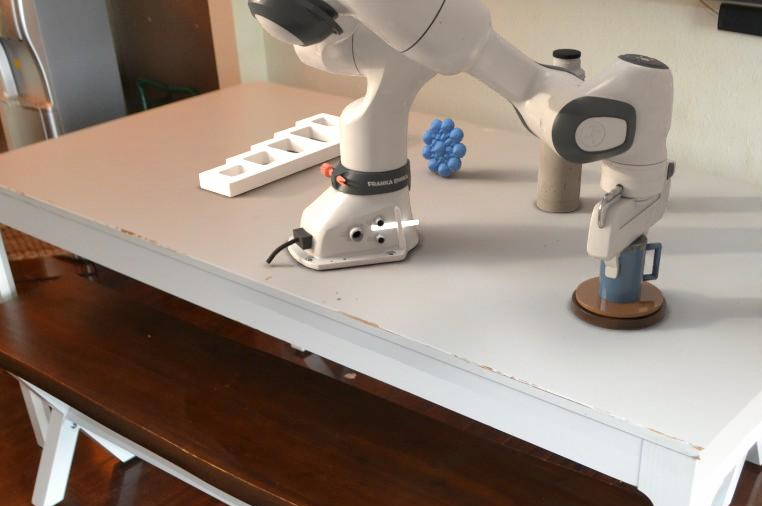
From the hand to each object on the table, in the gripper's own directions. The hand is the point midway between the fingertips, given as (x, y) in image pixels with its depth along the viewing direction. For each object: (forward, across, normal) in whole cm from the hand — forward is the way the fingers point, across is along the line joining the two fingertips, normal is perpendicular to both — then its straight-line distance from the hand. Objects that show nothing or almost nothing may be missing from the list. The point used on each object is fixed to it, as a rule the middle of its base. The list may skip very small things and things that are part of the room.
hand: (623, 266), depth 145 cm
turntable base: (+7, 0, 0) cm, 7 cm away
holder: (+7, +26, +89) cm, 93 cm away
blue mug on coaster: (+5, 0, 0) cm, 5 cm away
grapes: (+7, +35, +54) cm, 65 cm away
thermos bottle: (+7, +33, +28) cm, 43 cm away
